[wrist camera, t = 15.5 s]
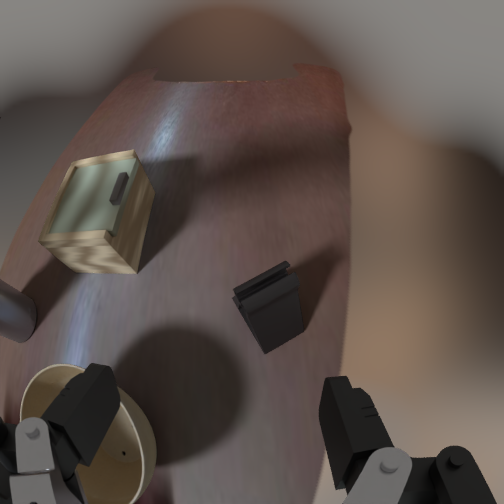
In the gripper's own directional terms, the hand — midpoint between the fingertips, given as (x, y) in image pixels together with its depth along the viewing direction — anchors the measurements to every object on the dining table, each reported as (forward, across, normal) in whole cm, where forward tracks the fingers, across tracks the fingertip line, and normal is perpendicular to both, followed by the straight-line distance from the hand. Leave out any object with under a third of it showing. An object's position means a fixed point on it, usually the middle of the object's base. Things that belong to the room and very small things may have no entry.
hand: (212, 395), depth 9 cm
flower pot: (+16, +17, +25) cm, 34 cm away
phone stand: (+27, -3, +10) cm, 29 cm away
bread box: (+38, +23, 0) cm, 44 cm away
